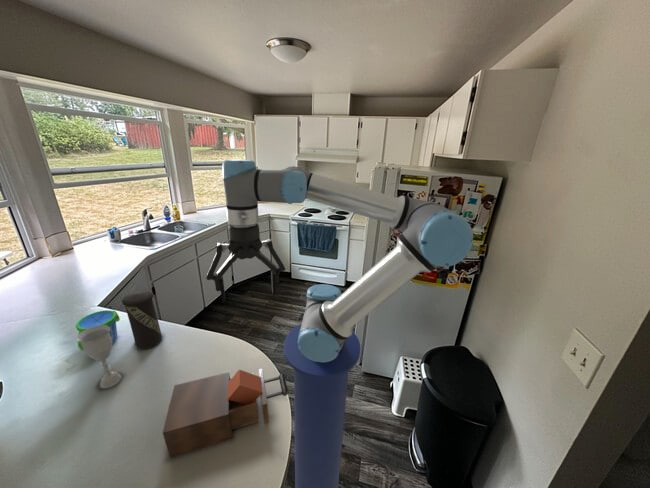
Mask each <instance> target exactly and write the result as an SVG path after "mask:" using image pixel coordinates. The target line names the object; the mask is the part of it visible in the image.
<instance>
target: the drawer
mask: <svg viewBox="0 0 650 488" xmlns="http://www.w3.org/2000/svg"><path fill="white" fill-rule="evenodd" d="M257 372H258V376H259V377H261V384H262V394H261V395H260V402H261V410H262V411H261V412H262V419H263V424H267V423H269V422H270V421H269V407H268V399H271V398H276V397H278V396H279V397H280V396H283V397H286V396H287V395H289V390H288V385H287V381H286V377H285V374H284V373H280V374H278V376H275V377H271V378H266V379H265V375H264V369H263V368H259V369H258V371H257ZM251 374H253V375H255V373H254V372H252V373H251ZM232 378H233V377H232ZM232 378H231V377H230V379H229V381H230V380H231V379H232ZM278 380H279V385H280V390H281V391H278V392H274V393H270V394H267V391H266V384H267V383H271V382H275V381H278ZM258 413H259V411H258V402H257V400H256V401H255V402H254V403H251V404H247V405H245V404H241V403H238V402H234V401H231V400H229V417H230V424H231V430H232V431H233V430H235V429H239V428H243V427H245V426H248V425H249V426H250V425H253V424H255V423H258V422H259V414H258Z"/></svg>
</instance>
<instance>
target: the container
mask: <svg viewBox="0 0 650 488" xmlns="http://www.w3.org/2000/svg"><path fill="white" fill-rule="evenodd" d="M153 298H154V293H153V291H151V290H148V289H138V290H134V291H131V292H128V293H126V294H125V295H124V296H123V297H122V299H121V303H122V305H123V306H124V308H125V312H126V314H127V317H128V321H129V325H130V328H131V332H132V335H133V341H134V343H135V346H136V348H138V349H140V350H144V349H145V350H146V349H150V348H153V347H155V346H157V345H158V344H160V342H162V339H163V334H162V331H161V326H160V323H159V319H158V315H157V312H156V308H155V304H154V301H153Z"/></svg>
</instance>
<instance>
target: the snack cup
mask: <svg viewBox="0 0 650 488" xmlns="http://www.w3.org/2000/svg"><path fill="white" fill-rule="evenodd" d="M120 320H121V319H120V315H119V314H118V312H117V311H115V310H110V309H109V310H108V309H105V310H99V311H95V312H93V313H90V314H87V315H85V316H84V317H82V318H80V319H79V320H78V321H77V322H76V324H75V328H76V330H77V331H78V334H77V336H78V335H79V334H80V333H81V332H83V331H84V330H86V329H88V328H91V327H94V326H99V325H107V326H109V327H110V331H109V333H110V336H111V339H112V344H113V343H114V342H115V341H116V340H117V339H118V328H117V322H120ZM77 346H78V348H79V350H81V351H84V349H83V346H82V344H81V342H80V341H78V340H77Z"/></svg>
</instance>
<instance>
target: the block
mask: <svg viewBox="0 0 650 488" xmlns="http://www.w3.org/2000/svg"><path fill="white" fill-rule="evenodd" d="M230 379H231V378H230ZM261 394H262V384H261V377H259V375H256V374H254V375H253V374H252V373H251V372H247V371H245V370H242V369H238V370H237V372H236V373H235V374H234V375H233V376H232V379H231V380H230V381H229V382H228V400H231V401H234V402H238V403H241V404H245V405H247V404H251V403H254V402H255V401H257V400H258V398H260V397H261Z"/></svg>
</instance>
